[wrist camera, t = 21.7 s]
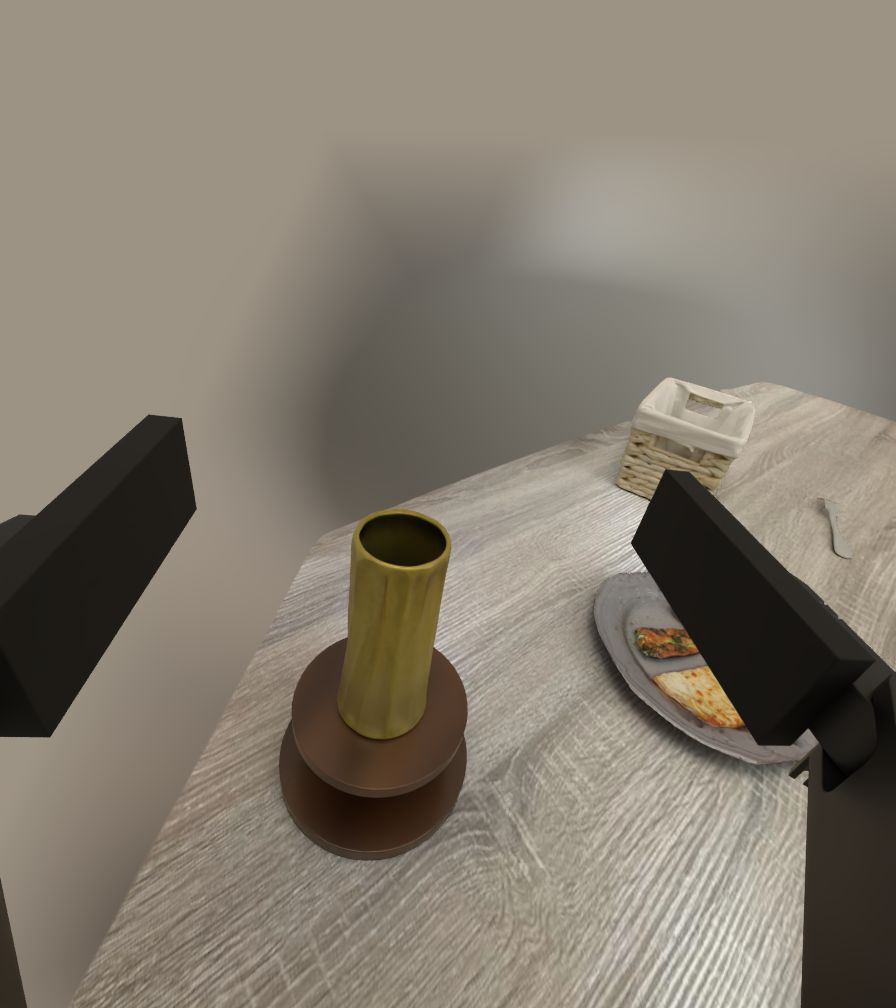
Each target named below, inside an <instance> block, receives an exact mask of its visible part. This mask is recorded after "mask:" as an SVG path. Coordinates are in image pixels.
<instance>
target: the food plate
mask: <svg viewBox="0 0 896 1008" xmlns="http://www.w3.org/2000/svg"><path fill="white" fill-rule="evenodd" d="M593 610H594V614H595V615H594V617H595V621H596V624H597V629H598V631H599V632H598V633H599V635H600V637H601V639H602V640H603V643H604V645H605V647H606V649H607V651H609V654H610V657H611V658H612V659H613V660H612V662H613V663H615V665H616V666H617V669H618V670H619V672H621V674H622V676H623V677H624V679H625V681H626V682H627V684H628V685H629V687H630V688H631V689H632V691H633V692H634V693H635V694H636V695H637V696H638V697H640V699H642V700H643V701H644V702H645V703H646V704H648V705H649V706H651V707H652V708H653V710H654V711H657V712H658V714H660V715H662V717H664V718H665V719H666V720H667V721H669V722H670V723H672V725H674V726H675V727H676V728H678V729H681V731H684V733H686V734H687V735H688V736H692V738H693V739H695V740H698V741H699V742H701V743H703V744H705V745H707V746H709V747H710V748H713V749H715V750H718V751H720V752H722V753H724V754H725V753H726V755H730V756H732V757H735V758H738V759H741V760H744V761H746V762H748V763H750V764H753V763H754V765H755V764H756V765H757V764H760V765H761V764H763V763H765V764H770V763H777V762H785V761H789V762H791V761H796V760H801V759H802V758H803V757H804V756H805V755H806V754H807V753H808V752H809V751H810V750H811V749H812V748H813V747H814V746H816V745H817V744H818V743H819V742H818V741H817V739H816V738H815V737H814V735H813V734H812V733H811V731H810V730H809V729H807V730H806V731H805V732H804V733H803V734H802V735H801V736H800V737H799V738H798V739H797V740H796V741H795V742H794V743H793V744H792V745H791V746H758V745H757V743H756V742H755V740H754V738H753V737H752V735H751V734H750V732H749V730H748V729H747V727H746V726H745V724H744V723H743V721H742V719H741V718H740V716H739V715H738V713H737V711H736V710H735V708H734V707H733V705H732V703H731V702H730V700H729V699H728V697H727V695H726V694H725V692H724V691H723V689H722V688H721V686H720V684H719V683H718V681H717V680H716V678H715V676H714V675H713V673H712V672H711V670H710V668H709V667H708V665H707V664H706V662H705V661H704V659H703V657H702V656H701V654H700V653H699V651H698V649H697V648H696V646H695V645H694V643H693V641H692V640H691V638H690V637H689V635H688V633H687V632H686V630H685V629H684V627H683V626H682V624H681V622H680V621H679V619H678V618H677V616H676V614H675V613H674V611H673V610H672V608H671V606H670V605H669V603H668V602H667V600H666V599H665V597H664V595H663V594H662V592H661V591H660V589H659V587H658V586H657V584H656V583H655V581H654V579H653V578H652V576H651V575H650V573H649V572H647V573H646V572H644V573H641V572H637V573H635V572H634V573H630V574H627V573H625V574H624V573H618V574H616V575H613V576H612V577H609V578H608V579H606V580H604V582H603V583H602V584H601V585H600V587H599V589H598V590H597V594H596V601H595V608H594V609H593ZM609 654H608V655H609Z"/></svg>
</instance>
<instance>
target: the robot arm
mask: <svg viewBox="0 0 896 1008" xmlns="http://www.w3.org/2000/svg"><path fill="white" fill-rule="evenodd" d="M196 509H197V508H196V503H195V496H194V490H193V485H192V478H191V472H190V466H189V460H188V455H187V448H186V442H185V436H184V430H183V423H182V418H175V417H166V416H156V415H148V416H146V418H144V419H143V420H142V421H141V422H140V423H139V424H138V425H136V426H135V427H134V428H133V429H132V430H131V431H130V432H129V433H127V434H126V435H125V436H124V437H123V438H122V439H121V440H120V441H119V442H118V443H116V444H115V445H114V446H113V447H112V448H111V449H110V450H109V451H107V452H106V453H105V454H104V455H103V456H102V457H101V458H100V459H99V460H97V461H96V462H95V463H94V464H93V465H92V466H91V467H90V468H89V469H87V470H86V471H85V472H84V473H83V474H82V475H81V476H80V477H78V478H77V479H76V480H75V481H74V482H73V483H72V484H71V485H70V486H68V487H67V488H66V489H65V490H64V491H63V492H62V493H61V494H60V495H58V496H57V498H55V499H54V500H53V501H52V502H51V503H50V504H48V505H47V506H46V507H45V508H44V509H43V510H42V511H41V512H40V513H38V514H37V515H36V516H32V515H18V516H16V517H13V518H11V519H9V520H7V521H5V522H3V523H1V524H0V737H51V735H52V734H53V732H54V730H55V729H56V727H57V726H58V724H59V723H60V721H61V720H62V718H63V716H64V715H65V713H66V712H67V710H68V708H69V707H70V706H71V704H72V702H73V701H74V699H75V697H76V696H77V694H78V693H79V691H80V690H81V688H82V687H83V685H84V684H85V682H86V681H87V679H88V677H89V676H90V674H91V673H92V671H93V670H94V668H95V666H96V665H97V663H98V662H99V660H100V659H101V657H102V656H103V654H104V652H105V651H106V649H107V648H108V646H109V645H110V643H111V642H112V640H113V638H114V637H115V635H116V634H117V632H118V631H119V629H120V627H121V626H122V624H123V623H124V621H125V620H126V618H127V616H128V615H129V614H130V612H131V610H132V609H133V607H134V606H135V604H136V603H137V601H138V599H139V598H140V596H141V595H142V593H143V592H144V590H145V589H146V587H147V586H148V584H149V582H150V581H151V579H152V578H153V576H154V575H155V573H156V571H157V570H158V568H159V567H160V565H161V564H162V562H163V561H164V559H165V557H166V556H167V554H168V553H169V551H170V550H171V547H172V546H173V545H174V543H175V542H176V540H177V539H178V537H179V536H180V534H181V533H182V531H183V529H184V528H185V526H186V525H187V523H188V522H189V520H190V519H191V517H192V515H193V514H194V512H195V511H196ZM631 544H632V546H633V548H634V549H635V551H636V552H637V554H638V556H639V557H640V559H641V560H642V562H643V564H644V565H645V567H646V568H647V570H648V571H649V573H650V575H651V576H652V578H653V579H654V581H655V583H656V584H657V586H658V587H659V589H660V591H661V592H662V594H663V595H664V597H665V599H666V600H667V602H668V603H669V605H670V606H671V608H672V610H673V611H674V613H675V614H676V616H677V618H678V619H679V621H680V622H681V624H682V626H683V627H684V629H685V630H686V632H687V633H688V635H689V637H690V638H691V640H692V641H693V643H694V645H695V646H696V648H697V649H698V651H699V653H700V654H701V656H702V657H703V659H704V661H705V662H706V664H707V665H708V667H709V668H710V670H711V672H712V673H713V675H714V676H715V678H716V680H717V681H718V683H719V684H720V686H721V688H722V689H723V691H724V692H725V694H726V695H727V697H728V699H729V700H730V702H731V703H732V705H733V707H734V708H735V710H736V711H737V713H738V715H739V716H740V718H741V719H742V721H743V723H744V724H745V726H746V727H747V729H748V730H749V732H750V734H751V735H752V737H753V738H754V740H755V742H756V743H757V745H758V746H791V745H792V744H793V743H794V742H795V741H796V740H797V739H798V738H799V737H800V736H801V735H802V734H803V733H804V732H805V731H806V730H807V729H809V730H810V731H811V733H812V734H813V735H814V737H815V738H816V739H817V741H818V742H819V743H818V744H817V745H816V746H814V747H813V748H812V749H811V750H810V751H809V752H808V753H807V754H806V755H805V756H804V757H803V758H802V759H801V760H800V761H799V762H798V763H797V764H796V765H795V766H793V767H792V768H791V771H790V773H789V776H790V777H792V778H793V779H795V778H796V777H797V776H798V775H799V774H801V773H802V772H803V771H809V778H808V779H807V780H806V781H805V782H804V783H803V785H805V786H807V787H808V808H807V838H806V867H805V897H804V927H803V957H802V987H801V1008H896V672H894V671H893V670H892V669H891V668H890V667H889V666H888V665H887V664H886V663H885V662H884V661H883V660H882V659H881V658H880V657H879V656H878V655H877V654H876V653H875V652H874V651H873V650H872V649H871V648H870V647H869V646H868V645H867V644H866V643H865V642H864V641H863V640H862V639H861V638H860V637H859V636H858V635H857V634H856V633H855V632H854V631H853V630H852V629H851V628H850V627H849V626H848V625H847V624H846V623H845V622H844V621H843V620H842V619H838V615H837V614H836V613H835V612H834V611H833V610H832V609H831V608H830V607H829V606H828V605H824V601H823V600H822V599H821V598H820V597H819V596H818V595H817V594H816V593H815V592H814V591H813V590H812V589H811V588H810V587H809V586H808V585H807V584H805V583H804V582H802V581H801V580H799V579H798V578H797V577H795V576H794V575H792V574H791V573H789V572H788V571H787V570H786V569H785V568H784V567H783V566H782V565H781V564H780V563H779V562H778V561H777V560H776V559H775V558H774V557H773V556H772V555H771V554H770V553H769V552H768V551H767V550H766V549H765V548H764V547H763V546H762V545H761V544H760V543H759V542H758V540H757V539H756V538H755V537H754V536H753V535H752V534H751V533H750V532H749V531H748V530H747V529H746V528H745V527H744V526H743V525H742V524H741V523H740V522H739V521H738V520H737V519H736V518H735V517H734V516H733V515H732V514H731V513H730V512H729V511H728V510H727V509H726V508H725V507H724V506H723V505H722V504H721V503H720V502H719V501H718V500H717V499H716V498H715V497H714V496H713V495H712V494H711V493H710V492H709V491H708V490H707V489H706V488H705V487H704V486H703V485H702V484H701V483H700V482H699V481H698V480H697V479H696V478H695V477H694V476H693V475H692V474H691V473H690V472H688V471H678V470H669V469H665V471H664V473H663V475H662V477H661V479H660V482H659V484H658V486H657V488H656V490H655V492H654V495H653V497H652V499H651V501H650V503H649V505H648V507H647V510H646V512H645V514H644V516H643V518H642V520H641V522H640V525H639V527H638V529H637V531H636V533H635V535H634V537H633V540H632V542H631ZM0 1008H27V1005H26V1000H25V995H24V990H23V986H22V981H21V976H20V972H19V967H18V962H17V957H16V952H15V947H14V942H13V937H12V933H11V928H10V923H9V918H8V914H7V909H6V904H5V899H4V894H3V889H2V884H1V879H0Z"/></svg>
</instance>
